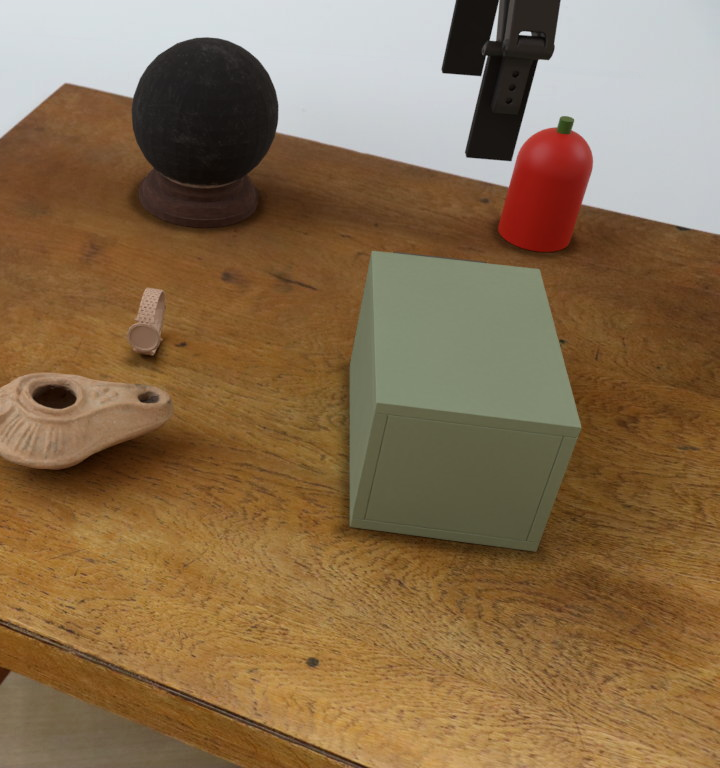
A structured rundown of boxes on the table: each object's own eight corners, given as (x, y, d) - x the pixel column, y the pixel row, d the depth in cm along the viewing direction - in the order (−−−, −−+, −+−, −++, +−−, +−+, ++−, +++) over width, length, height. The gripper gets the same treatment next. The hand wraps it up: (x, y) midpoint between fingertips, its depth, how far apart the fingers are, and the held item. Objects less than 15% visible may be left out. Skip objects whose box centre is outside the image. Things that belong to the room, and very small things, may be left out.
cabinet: (349, 365, 84) (371, 250, 78) (505, 384, 83) (539, 268, 77) (349, 527, 70) (376, 402, 64) (536, 552, 69) (581, 427, 63)
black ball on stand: (271, 237, 99) (291, 75, 90) (124, 228, 99) (130, 66, 90) (264, 170, 110) (282, 20, 101) (131, 162, 110) (137, 11, 101)
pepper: (563, 221, 104) (598, 107, 97) (574, 255, 99) (612, 138, 92) (494, 214, 104) (524, 100, 98) (501, 247, 99) (533, 130, 93)
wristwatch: (125, 362, 83) (127, 307, 80) (139, 328, 87) (142, 273, 84) (160, 368, 83) (164, 312, 80) (173, 333, 86) (177, 278, 83)
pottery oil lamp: (188, 473, 73) (162, 425, 67) (17, 517, 75) (-24, 474, 69) (167, 362, 77) (140, 308, 72) (6, 406, 79) (-33, 357, 73)
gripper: (462, -289, 70) (401, 40, 83) (529, -225, 50) (435, 194, 63) (583, -282, 70) (502, 48, 83) (698, -214, 50) (569, 206, 63)
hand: (473, 112), depth 73 cm, fingers open, 13 cm apart
